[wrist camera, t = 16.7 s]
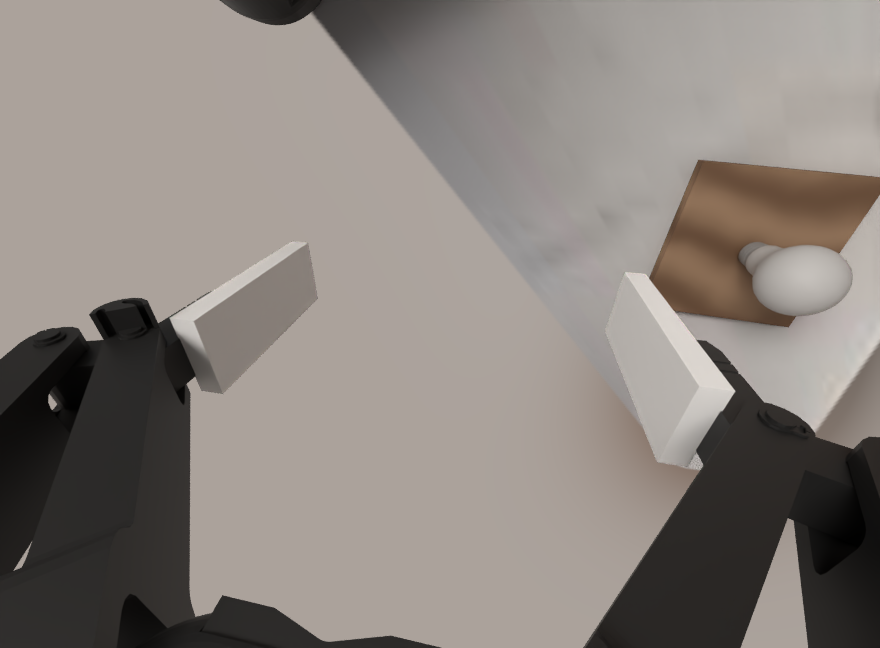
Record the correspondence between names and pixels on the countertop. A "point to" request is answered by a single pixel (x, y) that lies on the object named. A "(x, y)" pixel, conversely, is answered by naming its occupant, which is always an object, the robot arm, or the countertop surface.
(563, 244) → the countertop surface
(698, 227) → the plate
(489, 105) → the countertop surface
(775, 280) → the lightbulb
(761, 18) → the countertop surface
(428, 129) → the countertop surface
